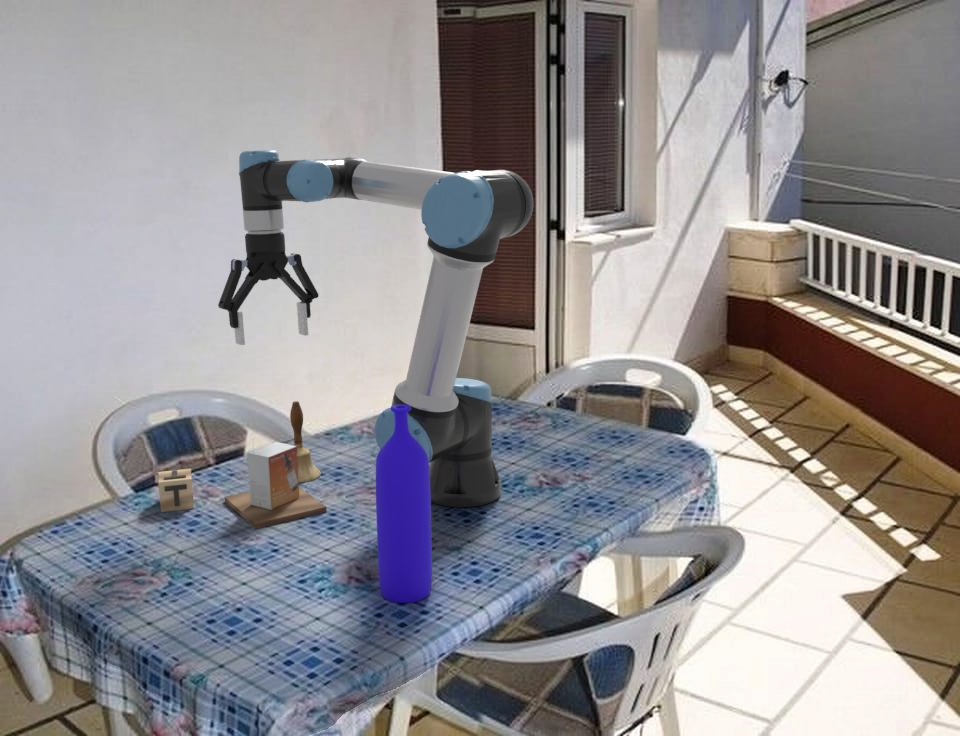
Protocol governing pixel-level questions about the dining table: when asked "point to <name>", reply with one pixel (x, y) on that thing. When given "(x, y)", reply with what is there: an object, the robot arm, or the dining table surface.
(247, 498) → the walnut board
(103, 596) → the dining table surface
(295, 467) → the small box
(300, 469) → the hand bell
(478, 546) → the dining table surface
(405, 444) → the bottle
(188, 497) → the letter cube
